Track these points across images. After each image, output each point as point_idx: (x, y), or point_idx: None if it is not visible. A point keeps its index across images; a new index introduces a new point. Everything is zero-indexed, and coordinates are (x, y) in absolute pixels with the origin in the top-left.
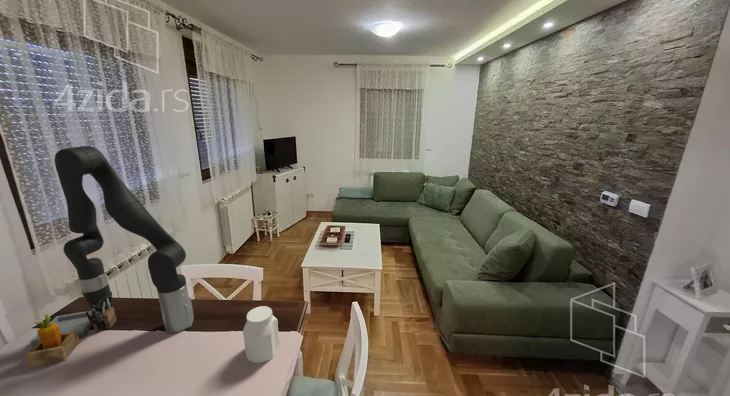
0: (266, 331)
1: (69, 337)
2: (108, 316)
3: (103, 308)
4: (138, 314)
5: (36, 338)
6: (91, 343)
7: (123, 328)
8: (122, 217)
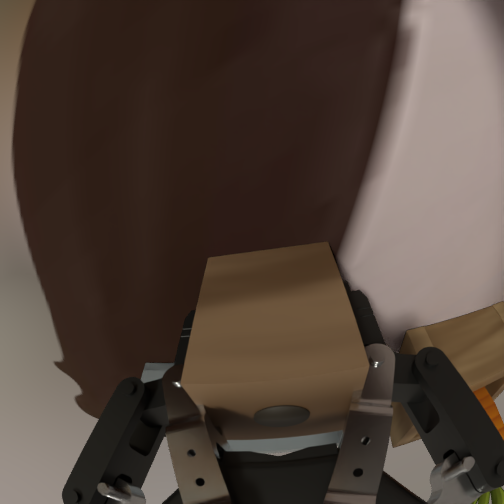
0: None
1: (483, 381)
2: (343, 336)
3: (364, 472)
4: (135, 98)
5: (337, 443)
6: (454, 269)
7: (367, 123)
8: None
